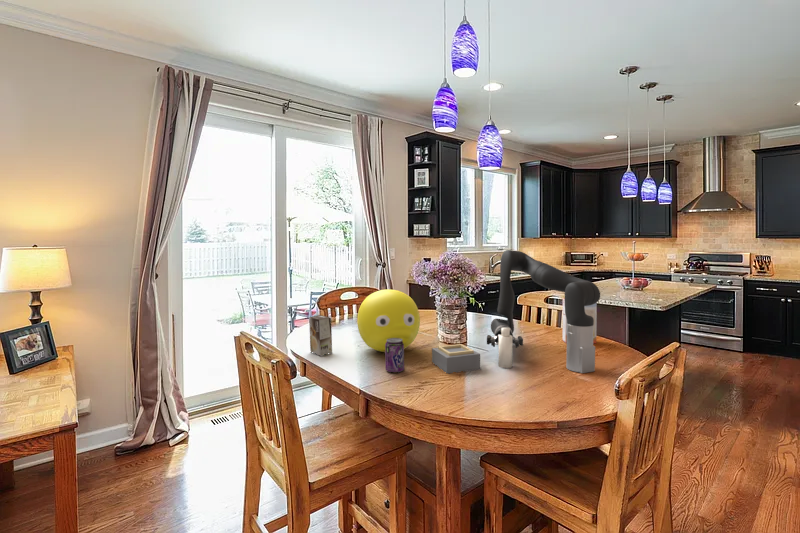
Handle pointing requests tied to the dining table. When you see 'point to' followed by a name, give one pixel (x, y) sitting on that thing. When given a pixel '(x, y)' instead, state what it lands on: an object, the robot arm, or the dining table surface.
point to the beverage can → (394, 355)
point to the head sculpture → (388, 318)
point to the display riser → (455, 358)
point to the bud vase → (505, 348)
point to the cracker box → (590, 311)
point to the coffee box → (320, 334)
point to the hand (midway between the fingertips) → (505, 344)
